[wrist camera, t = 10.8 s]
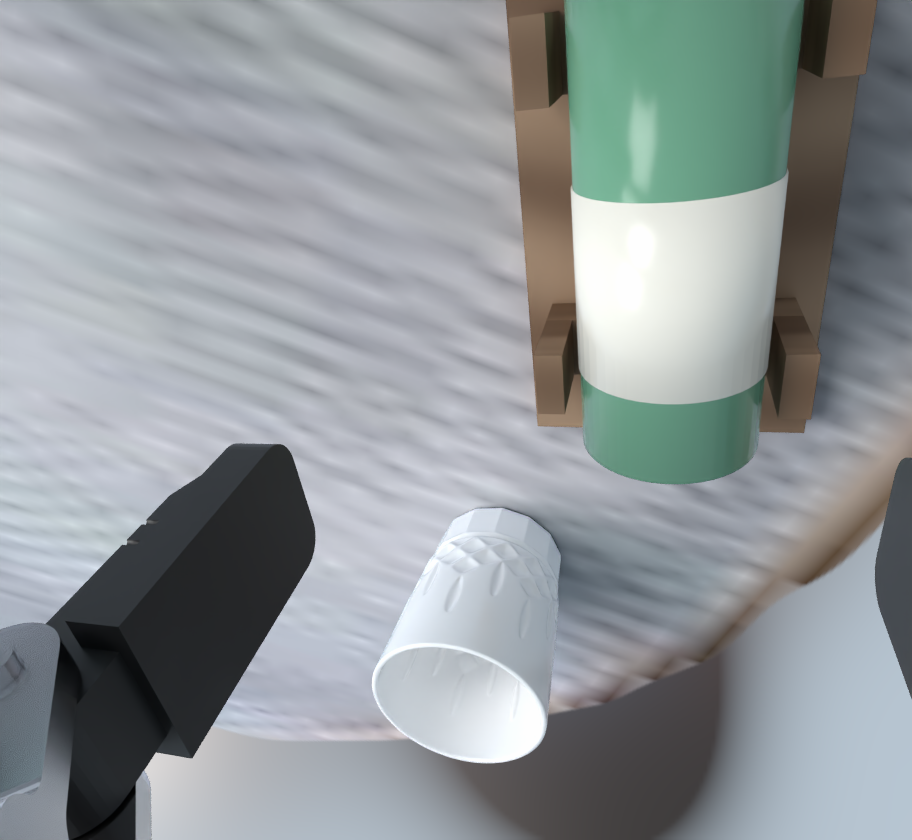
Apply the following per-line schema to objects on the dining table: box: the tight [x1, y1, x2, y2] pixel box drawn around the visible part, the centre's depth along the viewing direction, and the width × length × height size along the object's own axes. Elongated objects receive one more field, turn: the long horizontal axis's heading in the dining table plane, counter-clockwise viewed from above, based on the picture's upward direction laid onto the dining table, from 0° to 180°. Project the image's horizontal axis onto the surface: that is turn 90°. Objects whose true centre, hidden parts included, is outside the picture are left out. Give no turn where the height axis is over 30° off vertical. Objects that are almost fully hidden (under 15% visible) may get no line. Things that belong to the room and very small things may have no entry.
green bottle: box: [564, 0, 805, 484], centre depth 20 cm, size 20×6×6 cm, turn 8°
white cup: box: [372, 508, 561, 763], centre depth 34 cm, size 8×8×10 cm
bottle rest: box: [506, 0, 877, 433], centre depth 23 cm, size 20×11×6 cm, turn 7°
